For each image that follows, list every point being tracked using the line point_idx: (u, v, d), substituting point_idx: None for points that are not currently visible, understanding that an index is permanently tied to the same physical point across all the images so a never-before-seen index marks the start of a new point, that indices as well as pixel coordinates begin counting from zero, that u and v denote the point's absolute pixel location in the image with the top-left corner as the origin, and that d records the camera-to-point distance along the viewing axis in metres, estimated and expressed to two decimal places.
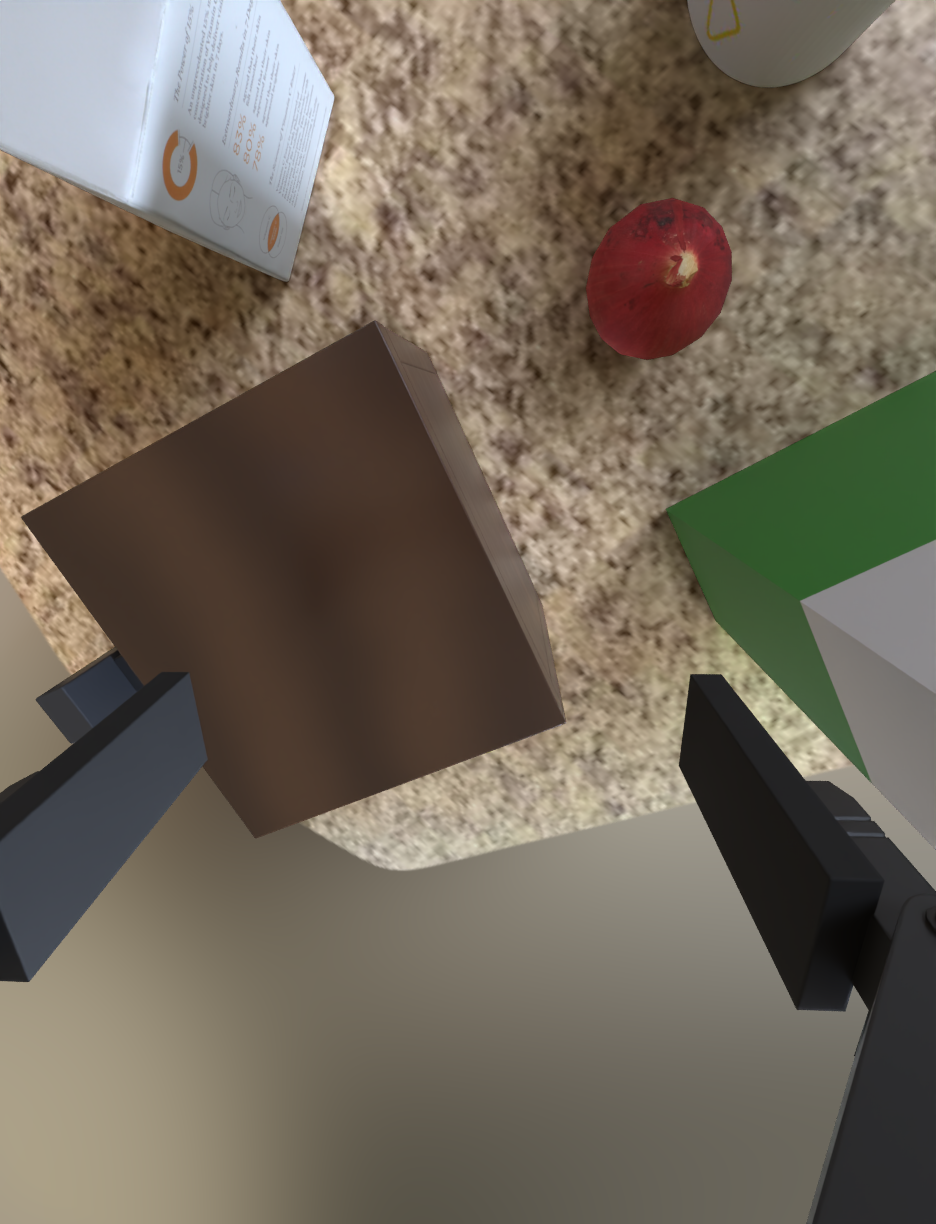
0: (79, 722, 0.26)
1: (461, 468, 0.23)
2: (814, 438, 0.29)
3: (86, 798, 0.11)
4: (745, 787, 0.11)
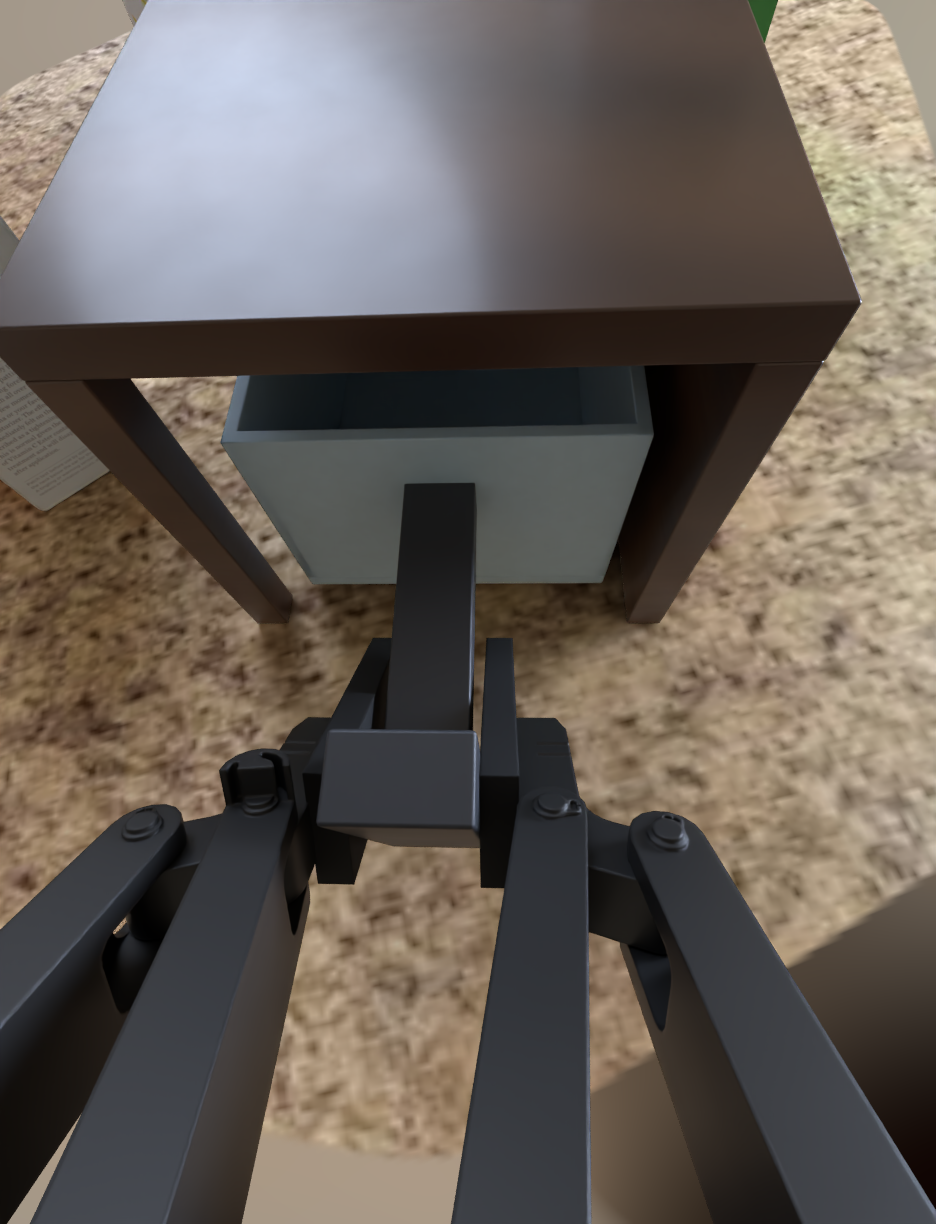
0: (429, 752, 0.10)
1: None
2: None
3: None
4: None
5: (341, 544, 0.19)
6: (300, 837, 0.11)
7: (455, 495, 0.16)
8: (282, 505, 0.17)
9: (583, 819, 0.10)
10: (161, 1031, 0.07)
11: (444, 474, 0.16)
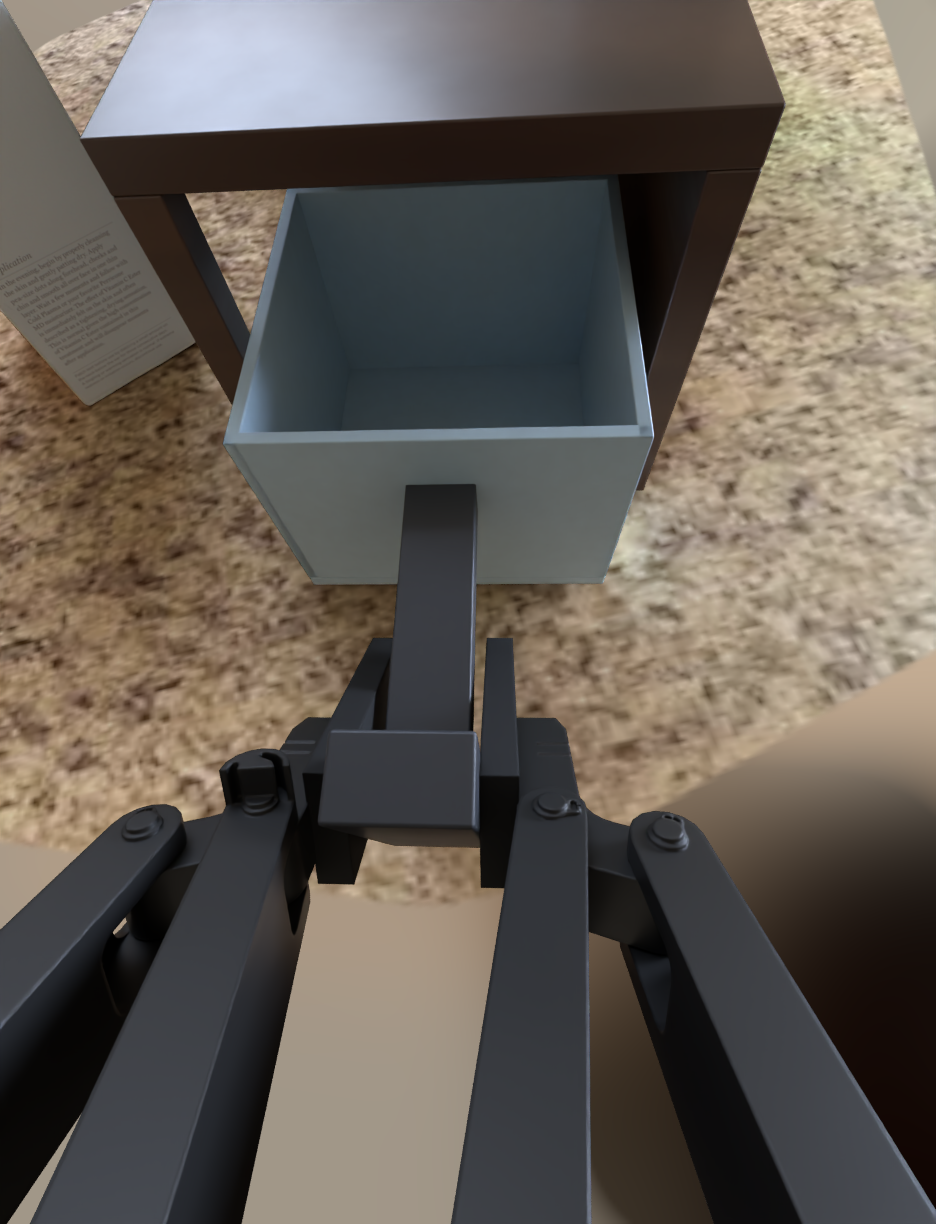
0: (430, 753, 0.10)
1: None
2: None
3: None
4: None
5: (342, 545, 0.19)
6: (300, 837, 0.11)
7: (456, 496, 0.16)
8: (284, 506, 0.17)
9: (583, 819, 0.10)
10: (161, 1031, 0.07)
11: (445, 475, 0.16)
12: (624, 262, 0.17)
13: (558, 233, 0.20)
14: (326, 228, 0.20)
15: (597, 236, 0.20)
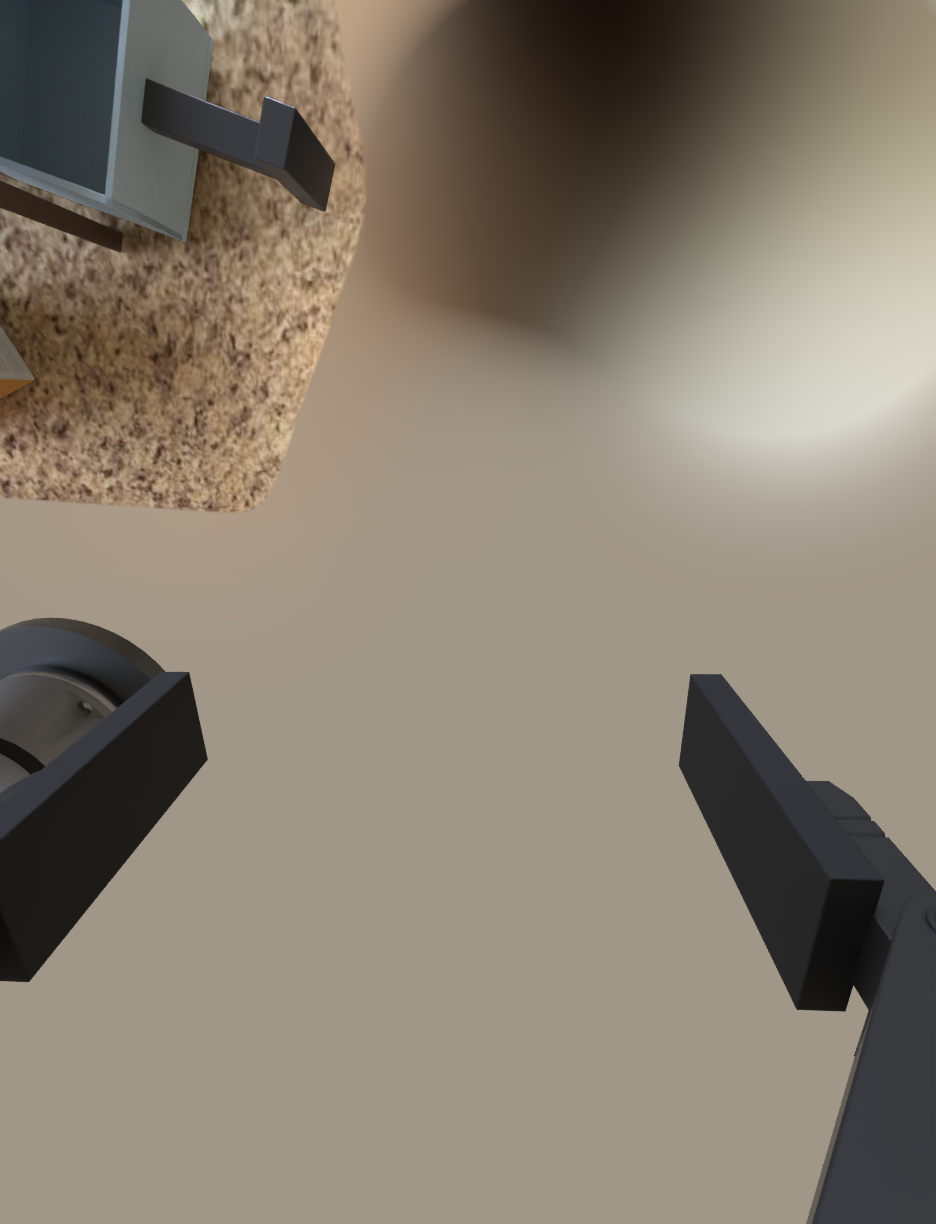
0: (268, 117, 0.28)
1: None
2: None
3: (86, 798, 0.11)
4: (745, 787, 0.11)
5: (166, 196, 0.35)
6: None
7: (152, 92, 0.31)
8: (142, 207, 0.33)
9: None
10: None
11: (139, 92, 0.30)
12: None
13: None
14: None
15: None
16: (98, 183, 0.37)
